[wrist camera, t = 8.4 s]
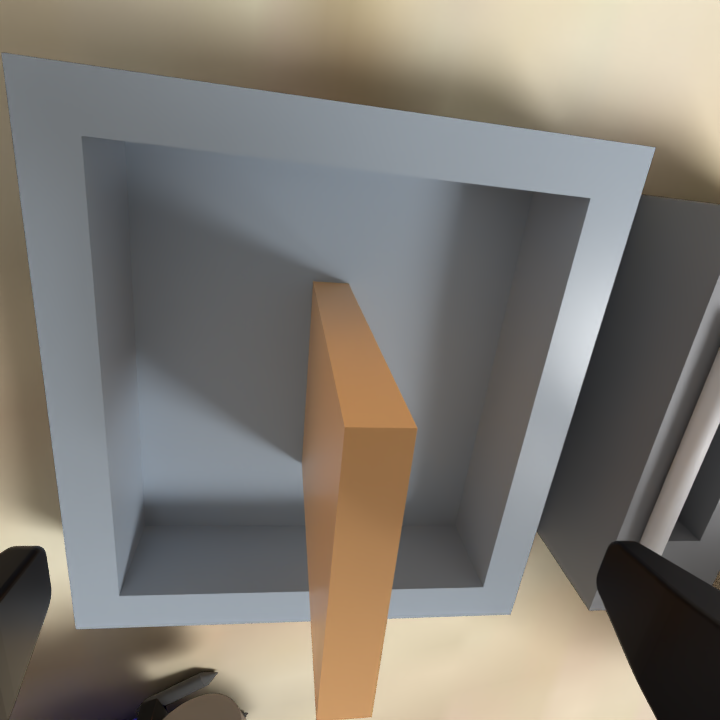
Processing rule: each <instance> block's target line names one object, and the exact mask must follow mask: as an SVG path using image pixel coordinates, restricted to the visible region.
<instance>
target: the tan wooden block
mask: <svg viewBox="0 0 720 720" xmlns="http://www.w3.org/2000/svg"><path fill="white" fill-rule="evenodd" d="M417 429H418V428H417V426H416V424H415V422H414V420H413V418H412V415H411V413H410V411H409V409H408V407H407V405H406V403H405V401H404V399H403V397H402V395H401V392H400V390H399V388H398V386H397V384H396V382H395V380H394V378H393V376H392V374H391V371H390V369H389V367H388V365H387V363H386V361H385V359H384V357H383V355H382V353H381V350H380V348H379V346H378V344H377V342H376V340H375V338H374V336H373V334H372V332H371V329H370V327H369V325H368V323H367V321H366V319H365V317H364V315H363V313H362V311H361V308H360V306H359V304H358V302H357V300H356V298H355V296H354V294H353V292H352V290H351V287H350V285H349V283H332V282H316V281H313V290H312V307H311V323H310V339H309V355H308V371H307V388H306V404H305V420H304V436H303V452H302V476H303V493H304V511H305V529H306V546H307V564H308V582H309V600H310V617H311V635H312V653H313V671H314V688H315V706H316V720H342V719H354V718H366V717H372V712H373V705H374V699H375V693H376V686H377V680H378V674H379V668H380V661H381V655H382V649H383V642H384V636H385V630H386V624H387V617H388V611H389V605H390V598H391V592H392V586H393V580H394V573H395V567H396V561H397V554H398V548H399V542H400V536H401V529H402V523H403V517H404V510H405V504H406V498H407V491H408V485H409V479H410V473H411V466H412V460H413V454H414V447H415V441H416V435H417Z"/></svg>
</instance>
